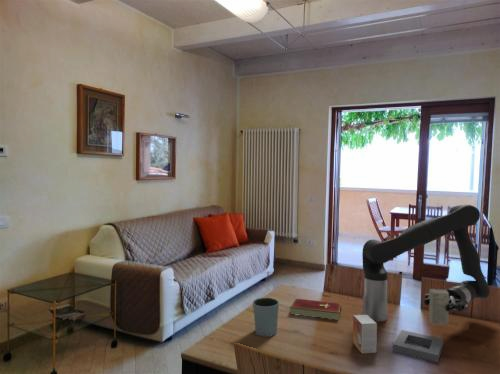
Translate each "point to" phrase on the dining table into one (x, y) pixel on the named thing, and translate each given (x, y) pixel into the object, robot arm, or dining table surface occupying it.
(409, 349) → the pocket stand
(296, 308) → the hardcover book
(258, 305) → the grey ceramic cup
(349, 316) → the dining table surface
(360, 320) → the small box
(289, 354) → the dining table surface
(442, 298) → the skincare box
